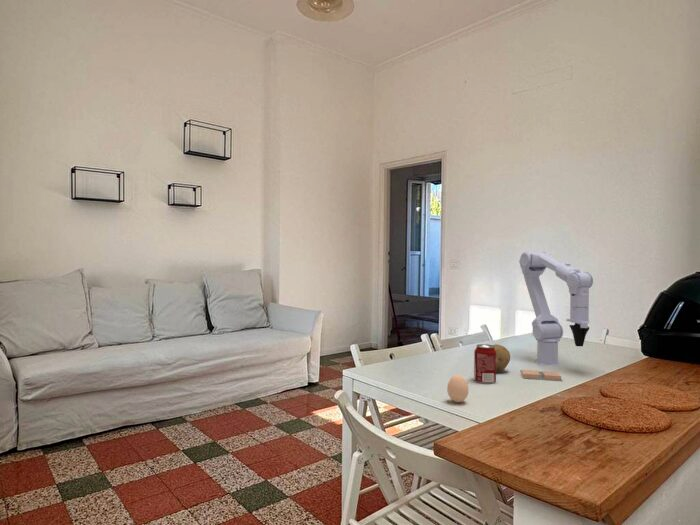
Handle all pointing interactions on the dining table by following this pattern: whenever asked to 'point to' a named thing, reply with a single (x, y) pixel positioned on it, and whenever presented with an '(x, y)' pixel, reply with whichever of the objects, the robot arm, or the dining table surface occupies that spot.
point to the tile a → (530, 374)
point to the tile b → (551, 375)
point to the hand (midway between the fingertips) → (579, 346)
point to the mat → (540, 377)
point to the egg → (457, 388)
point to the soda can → (485, 364)
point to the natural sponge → (501, 357)
